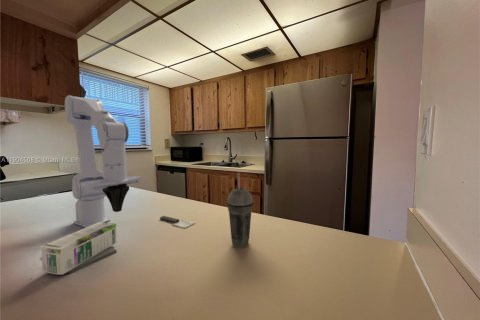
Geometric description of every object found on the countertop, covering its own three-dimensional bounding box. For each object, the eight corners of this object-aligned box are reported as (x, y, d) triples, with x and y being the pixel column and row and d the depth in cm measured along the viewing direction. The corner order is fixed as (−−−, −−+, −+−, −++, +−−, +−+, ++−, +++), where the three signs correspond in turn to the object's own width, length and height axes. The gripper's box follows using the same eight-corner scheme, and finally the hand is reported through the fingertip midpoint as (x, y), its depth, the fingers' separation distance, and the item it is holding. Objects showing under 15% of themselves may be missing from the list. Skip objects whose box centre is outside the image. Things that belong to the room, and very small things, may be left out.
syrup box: (117, 243, 56) (62, 276, 42) (99, 241, 58) (40, 272, 43) (116, 223, 56) (60, 249, 42) (98, 221, 57) (38, 246, 43)
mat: (43, 256, 51) (42, 254, 51) (88, 240, 60) (88, 238, 60) (69, 273, 44) (69, 270, 44) (116, 252, 53) (116, 249, 53)
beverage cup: (256, 240, 59) (256, 171, 58) (249, 252, 52) (248, 174, 51) (232, 236, 61) (232, 170, 60) (223, 248, 55) (222, 173, 53)
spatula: (156, 221, 74) (156, 218, 74) (167, 217, 79) (167, 214, 78) (185, 228, 67) (185, 225, 67) (195, 223, 72) (195, 220, 72)
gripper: (93, 167, 50) (97, 221, 51) (146, 163, 63) (148, 206, 64) (79, 166, 54) (83, 216, 55) (132, 162, 66) (134, 203, 67)
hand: (117, 211), depth 60 cm, fingers closed
